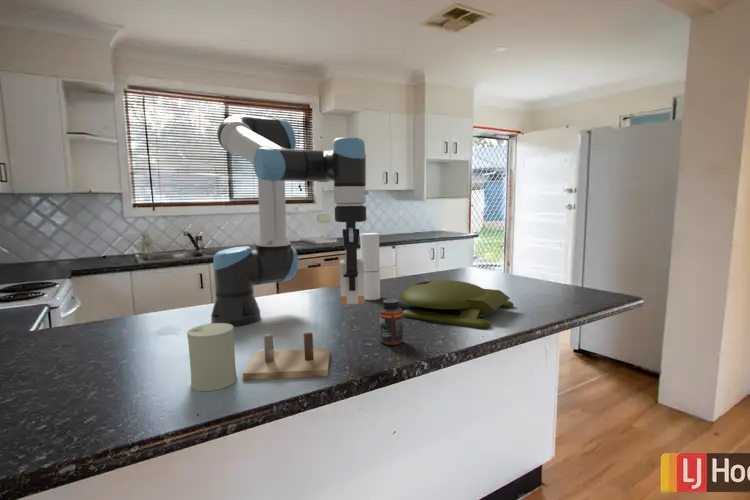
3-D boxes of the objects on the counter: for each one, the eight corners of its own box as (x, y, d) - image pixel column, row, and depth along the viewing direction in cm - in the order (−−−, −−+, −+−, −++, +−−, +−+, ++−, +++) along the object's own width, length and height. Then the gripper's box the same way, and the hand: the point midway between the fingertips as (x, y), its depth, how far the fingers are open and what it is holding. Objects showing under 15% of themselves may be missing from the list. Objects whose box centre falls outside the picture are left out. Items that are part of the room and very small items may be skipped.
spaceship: (515, 307, 144) (515, 279, 143) (487, 332, 118) (487, 298, 117) (424, 296, 163) (424, 272, 162) (383, 315, 137) (382, 286, 136)
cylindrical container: (381, 295, 164) (379, 232, 161) (379, 300, 157) (378, 234, 154) (363, 295, 164) (361, 233, 162) (360, 300, 157) (359, 234, 154)
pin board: (243, 380, 88) (240, 346, 88) (256, 357, 101) (254, 327, 100) (327, 376, 89) (326, 342, 89) (330, 354, 102) (329, 324, 101)
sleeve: (340, 304, 98) (339, 263, 97) (341, 298, 104) (340, 259, 103) (364, 304, 99) (363, 262, 97) (363, 298, 104) (362, 259, 103)
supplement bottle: (405, 339, 112) (405, 298, 111) (399, 346, 106) (398, 303, 105) (384, 337, 114) (383, 297, 113) (377, 344, 108) (376, 302, 107)
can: (199, 373, 92) (195, 321, 91) (241, 371, 93) (238, 319, 92) (184, 392, 83) (179, 335, 82) (230, 390, 84) (227, 332, 83)
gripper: (367, 205, 89) (369, 310, 92) (364, 204, 108) (366, 291, 111) (332, 206, 89) (335, 311, 92) (335, 204, 107) (338, 291, 110)
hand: (352, 299), depth 101 cm, fingers closed on sleeve, 6 cm apart
